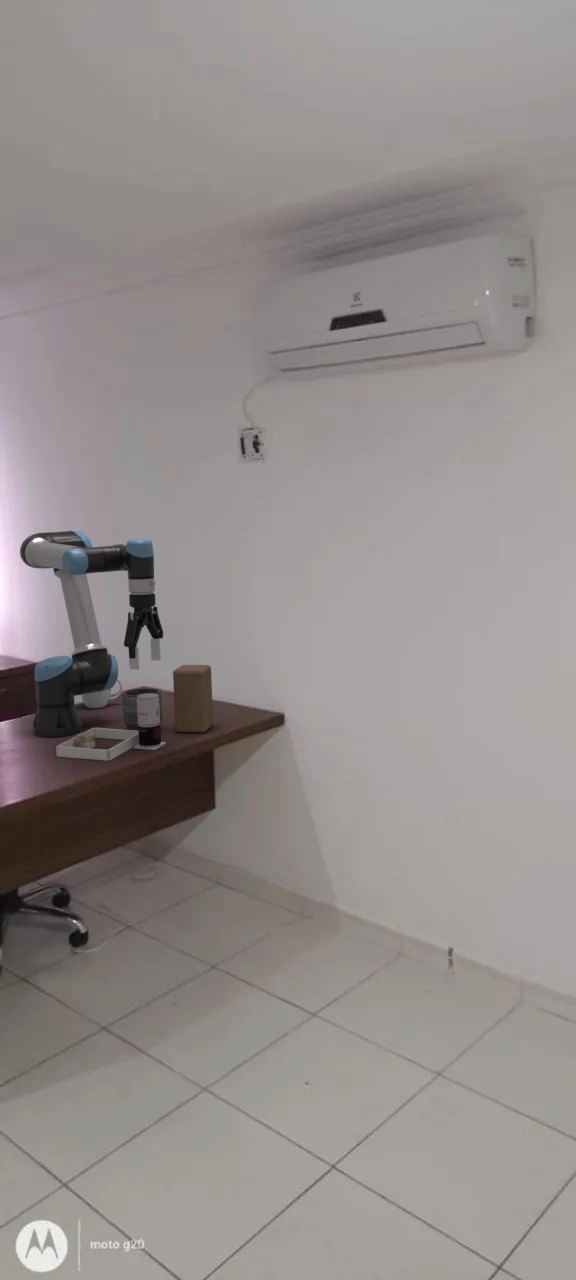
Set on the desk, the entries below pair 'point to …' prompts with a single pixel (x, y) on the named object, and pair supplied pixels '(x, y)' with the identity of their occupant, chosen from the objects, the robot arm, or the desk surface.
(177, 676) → the wooden block
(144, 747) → the pad
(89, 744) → the beech block
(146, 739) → the beverage can
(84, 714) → the desk surface
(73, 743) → the bin
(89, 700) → the mug
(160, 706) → the planter
